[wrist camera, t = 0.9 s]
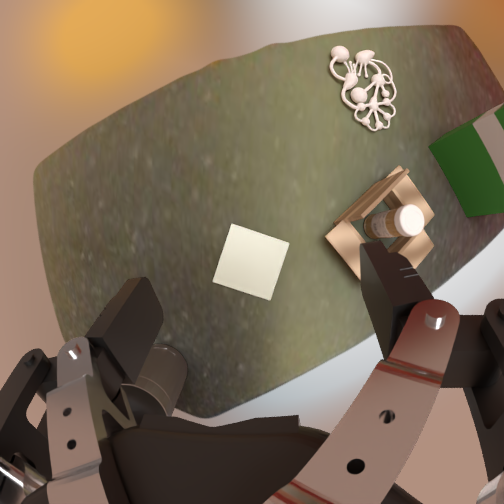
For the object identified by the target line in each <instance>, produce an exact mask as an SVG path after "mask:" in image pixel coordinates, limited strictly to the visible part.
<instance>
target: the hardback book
mask: <svg viewBox="0 0 504 504" xmlns="http://www.w3.org/2000/svg"><path fill="white" fill-rule="evenodd" d="M428 147H429V149H430V150H431V152H432V153H433V155H434V157H435V158H436V160H437V162H438V163H439V165H440V167H441V169H442V170H443V172H444V174H445V176H446V177H447V179H448V181H449V183H450V185H451V187H452V188H453V190H454V192H455V194H456V196H457V198H458V200H459V202H460V204H461V206H462V208H463V210H464V212H465V215H466V217H473V216H480V215H488V214H496V213H504V103H502V104H500V105H498V106H496V107H495V108H493V109H491V110H489V111H487V112H485V113H483V114H481V115H479V116H478V117H476V118H474V119H472V120H470V121H468V122H466V123H464V124H463V125H461V126H459V127H457V128H455V129H453V130H451V131H449V132H448V133H446V134H444V135H443V136H442V137H440V138H439V139H438V140H436V141H435V142H434V143H432V144H431V145H430V146H428Z"/></svg>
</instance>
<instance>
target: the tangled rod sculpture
mask: <svg viewBox="0 0 504 504" xmlns="http://www.w3.org/2000/svg"><path fill="white" fill-rule="evenodd" d="M374 54H375V53H374V52H373V51H371V50H364V51H361V52H358V53H357V54H356V56H355V60H356V65H355V64H352V62H351V61H349V64H350V67H351V72H352V73H350V69H349V67H348V65H347V62H346V61H347V60H348V58H349V52H348V50H347V49H346V48H345V47H343V46H336V47H334V48H333V49H332V50H331V56H332V58H333V59H332V61H331V62H330V70H331V72H332V74H333V75H334V76H335V77H336V78H338V79H340V80H342V81H345V82H344V85H343V89H342V92H341V96H342V100H343V101H344V102H345V103H346V104H347V105H348V106H350V107H351V108H353V109H356V111H355V113H354V116H355V118H356V120H358V121H359V122H362V124H363V125H365V126H368V128H369V129H370V130H372V131H377V130H381V129H382V128H384V129H387V128H389V126H390V119H391V117H393V116H394V115H395V113H396V109H395V107H394V106H393V105H392V104H391V102H392V101H393V100H394V99H395V97H396V88H395V85H394V83H393V81H392V73H391V70H390V69H389V67H388V66H387V65H386V64H385V63H384V62H382V61H379V60H374V59H371V58H372V57H373V56H374ZM335 61H337V62H344V64H345V65H346V66H347V68H348V71H349V73H347V74H346V76H345V78H344V77H341V76H339V75H337V74H336V72H335V71H334V69H333V64H334V63H335ZM371 61H375V62H379V63H382V64H383V65H385V66H386V67H387V69H388V70H389V73H390V77H389V76H388V75H387V74H382V75H381V70H380V68H379V67H378V66H377V65H376V64H375V63H373V62H371ZM351 64H352V65H353V67H354V69H352V65H351ZM357 64H359V65H360V70H359V73H358V74H357V76H358V77H360V76H361V75H360V73H361V69H362V66H365V74H366V75H365V77H366V78H368V75H367V71H366V65H367V64H370V65H372V66H374V67H375V68H376V69H377V71H378V74H375V75H373V76H372V79H371V81H372V83H371V84H370V85H369V86H368V87H367V88H366V89H365V90H364V89H362V88H359V87H358V88H354V89H353V90H352V91H351V99H352V100H353V101H354V102H355V103H358V104H357V106H355V105H353V104H351V103H350V102H349V101H347V100H346V98H345V91H346V90H348V89H351V88H352V87H353V86H355V85H356V84H357V82H358V78H357V76H356V67H357ZM354 73H355V74H354ZM383 76H387V77H388V79H389V80H390V81H389V82H386V81H385V79H384V77H383ZM385 83H386V84H390V83H392V86H393V88H394V96H393V98H392V99H390V100H389V99H388V98H387V97H389V92H388V91H387V90H385V89H384V84H385ZM373 85H374V86H375V87H376V89H375V93H374V96H373V97H372V98H371V99H370V101H369V104H364V102H365V101H366V100H367V93H366V92H367V91H368V90H369V89H370V88H371V87H372V86H373ZM379 87H381V88H382V90H383V91H382V93H381V94H382V96H383V97H385V98H384V99H383V102H379V103H377V98H376V97H377V93H378V89H379ZM378 105H385V106H389V105H390V106H391V107H392V108H393V109H394V113H393V114H392V115H390V114H389V113H385V112H383V111H382V110H381V109H380V108H379V107H378ZM366 107H369V109H370V111H369V112H368V114H367V116H366V117H364V118H362V120H360V119H358V118H357V115H356V114H357V112H358V110H360V111H364V110H365V108H366ZM377 110H378V111H379V112H380V113H382V114H383V118H384V120H386V121H388V126H387V127H384V126H383V123H382V122H380V121H379V119H378V115H377ZM372 112H374V115H375V119H376V123H375V127H376V129H372V128H371V127H370V126H369V124H370V120H369V117H370V115H371V113H372Z"/></svg>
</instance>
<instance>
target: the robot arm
mask: <svg viewBox="0 0 504 504" xmlns="http://www.w3.org/2000/svg"><path fill="white" fill-rule="evenodd" d="M359 251H360V277H361V290H362V295H363V298H364V301H365V304H366V307H367V310H368V312H369V315H370V318H371V321H372V324H373V327H374V330H375V333H376V335H377V339H378V342H379V345H380V348H381V351H382V354H383V358H384V360H383V359H382V360H380V361H379V362H378V364H377V365H376V367H375V368H374V370H373V372H372V373H371V375H370V377H369V378H368V380H367V382H366V383H365V385H364V386H363V388H362V389H361V391H360V393H359V394H358V396H357V397H356V399H355V401H354V402H353V403H352V405H351V406H350V408H349V409H348V410H347V412H346V413H345V415H344V416H343V418H342V419H341V420H340V422H339V424H338V425H337V426H336V427H335V429H334V430H333V431H332V433H331V434H330V433H328V432H325V431H322V430H319V429H314V428H310V427H304V426H301V425H300V420H299V415H293V416H281V417H264V418H254V419H250V420H245V421H242V422H237V423H232V424H228V425H223V426H218V427H208V426H205V425H201V424H198V423H194V422H191V421H187V420H184V419H181V418H178V417H171V416H172V413H173V411H174V408H175V405H176V403H177V400H178V398H179V395H180V392H181V390H182V388H183V385H184V382H185V380H186V377H187V373H188V368H187V363H186V361H185V359H184V357H183V356H182V355H181V353H180V352H179V351H177V350H176V349H175V348H173V347H171V346H169V345H165V344H154V345H153V343H154V341H155V338H156V336H157V334H158V332H159V330H160V328H161V326H162V323H163V310H162V307H161V305H160V303H159V301H158V299H157V296H156V294H155V292H154V290H153V288H152V285H151V283H150V281H149V280H148V278H146V277H140V278H133V279H128V280H127V281H126V282H125V284H124V285H123V286H122V288H121V289H120V290H119V292H118V293H117V294H116V296H115V297H113V298H112V299H111V300H110V301H109V303H108V304H107V305H106V307H105V308H104V310H103V311H102V312H101V314H100V317H98V318H97V319H96V321H95V322H94V324H93V325H92V327H91V328H90V329H89V331H88V332H87V334H86V335H85V337H77V338H74V339H72V340H70V341H68V342H67V343H66V344H64V346H62V348H61V349H60V350H59V353H58V355H57V356H56V357H52V358H47V357H46V355H45V354H44V352H43V351H42V350H41V349H33V350H31V351H29V352H28V353H26V354H25V355H24V356H23V357H22V358H21V360H20V361H19V363H18V364H17V366H16V367H15V369H14V370H13V372H12V373H11V375H10V376H9V378H8V379H7V381H6V383H5V384H4V386H3V388H2V389H1V391H0V504H422V503H421V502H419V501H418V500H417V499H415V498H414V497H412V496H411V495H410V494H409V493H407V492H406V491H405V490H404V489H402V488H401V487H400V486H398V485H397V484H396V483H395V480H396V478H397V477H398V475H399V473H400V472H401V470H402V468H403V466H404V465H405V463H406V461H407V459H408V457H409V455H410V454H411V452H412V450H413V448H414V446H415V444H416V442H417V440H418V438H419V435H420V434H421V431H422V429H423V427H424V425H425V423H426V421H427V418H428V416H429V414H430V411H431V409H432V406H433V404H434V402H435V399H436V396H437V394H438V391H439V389H440V388H463V390H464V393H465V396H466V399H467V402H468V405H469V407H470V411H471V414H472V417H473V420H474V424H475V427H476V431H477V434H478V438H479V441H480V445H481V449H482V454H483V458H484V462H485V467H486V471H487V476H488V481H489V482H488V483H487V484H486V485H485V487H484V488H483V489H482V491H481V492H480V494H479V496H478V499H477V502H476V504H504V299H495V300H493V301H491V302H490V303H489V304H488V305H487V306H486V309H485V312H484V315H459V312H458V311H457V309H456V308H455V307H454V306H453V305H451V304H450V303H448V302H446V301H443V300H438V299H434V297H433V296H432V294H431V293H430V291H429V290H428V288H427V287H426V285H425V284H424V282H423V280H422V279H421V278H420V276H419V275H418V273H417V272H416V270H415V269H414V268H413V266H412V264H411V263H410V262H409V260H408V259H407V258H406V257H404V256H403V255H401V254H399V253H398V252H392V253H389V252H388V250H387V249H386V247H385V246H384V244H383V243H382V241H380V240H379V241H373V242H366V243H361V244H360V247H359ZM35 393H37V394H38V395H39V396H40V397H41V398H42V400H43V401H44V402H45V403H46V405H47V409H46V411H45V413H44V415H43V417H42V419H41V421H40V423H39V425H38V427H37V429H36V428H35V427H34V426H33V425H32V424H30V423H29V421H28V419H27V417H26V411H27V408H28V406H29V404H30V403H31V401H32V399H33V397H34V395H35Z"/></svg>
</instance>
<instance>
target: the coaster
mask: <svg viewBox="0 0 504 504" xmlns="http://www.w3.org/2000/svg"><path fill="white" fill-rule="evenodd" d="M288 246H289V243H287V242H285V241H282V240H279V239H276V238H273V237H270V236H267V235H264V234H261V233H258V232H255V231H252V230H249V229H246V228H243V227H240V226H237V225H234V224H231V227H230V230H229V233H228V236H227V239H226V242H225V245H224V248H223V251H222V254H221V257H220V260H219V263H218V266H217V269H216V273H215V276H214V279H213V282H215V283H218V284H221V285H224V286H227V287H230V288H233V289H236V290H239V291H242V292H245V293H248V294H251V295H254V296H258V297H261V298H264V299H267V300H271V297H272V294H273V291H274V288H275V285H276V282H277V279H278V276H279V273H280V270H281V267H282V264H283V261H284V258H285V255H286V252H287V249H288Z"/></svg>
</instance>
